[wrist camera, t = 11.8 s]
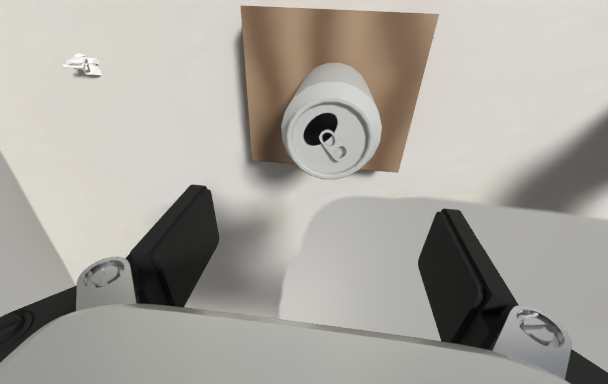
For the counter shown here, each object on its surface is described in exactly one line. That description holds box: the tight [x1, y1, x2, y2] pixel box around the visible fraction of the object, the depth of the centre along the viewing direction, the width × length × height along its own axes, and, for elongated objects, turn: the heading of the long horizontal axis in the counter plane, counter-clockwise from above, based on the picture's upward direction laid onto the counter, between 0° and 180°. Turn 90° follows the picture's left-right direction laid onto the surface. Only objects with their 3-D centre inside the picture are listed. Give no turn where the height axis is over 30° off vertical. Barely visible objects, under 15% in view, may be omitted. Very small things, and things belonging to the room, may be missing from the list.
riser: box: [241, 6, 439, 173], centre depth 31 cm, size 18×16×5 cm
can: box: [281, 63, 382, 179], centre depth 24 cm, size 8×8×12 cm
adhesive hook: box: [63, 54, 102, 75], centre depth 34 cm, size 3×3×3 cm
